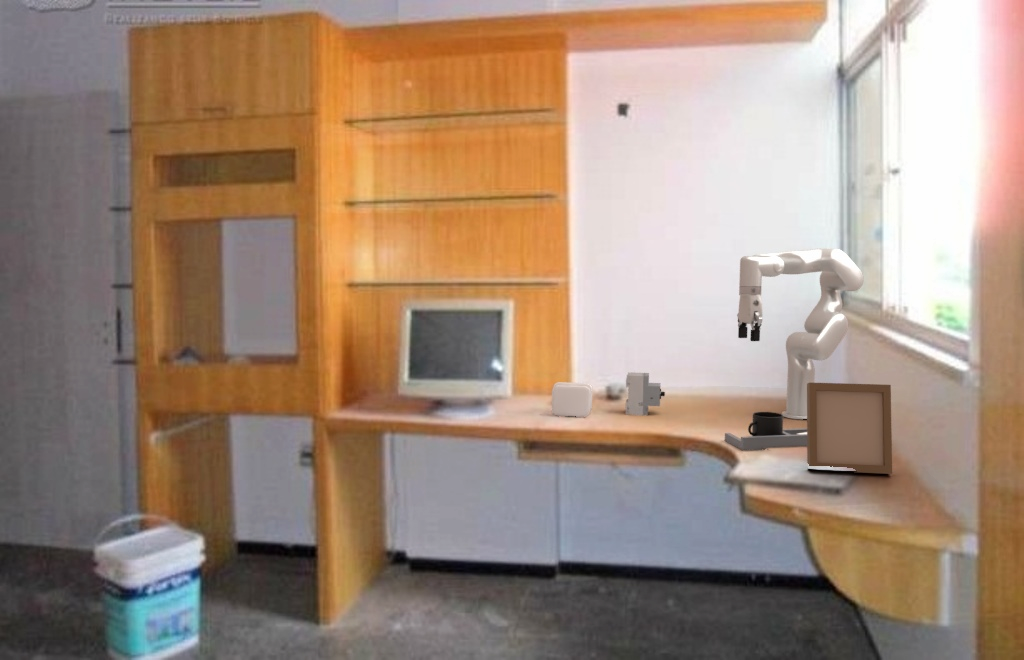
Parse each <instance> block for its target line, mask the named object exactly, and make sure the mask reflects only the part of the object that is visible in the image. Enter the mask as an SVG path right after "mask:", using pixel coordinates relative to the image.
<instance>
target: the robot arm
mask: <svg viewBox="0 0 1024 660" xmlns="http://www.w3.org/2000/svg"><path fill="white" fill-rule="evenodd" d="M739 261H740V262H739V282H738V283H739V287H738V288H739V290H738V291H739V292H738V293H739V294H738V295H739V301H738V313H736V316H737V323H738V324H737V326H738V334H737V338H738V339H747V338H748V325H750V326H751V329H750V342H760V341H761V337H760V336H761V329H762V327H761V326H762V323H763V300H762V283H763V282H762V281H763V280H762V277H765V278H766V277H768V278H772V277H773V278H775V277H778V276H779V275H802V274H810V273H812V274H813V273H818V272H821V273H820V275H819V286H820V292H821V293H820V294H821V295H820V299H819V301H818V302H817V303H816V305H815V306H814V308H813V309H812V310H811V312H810V313H809V315H808V316H807V318H806V319H805V321H804V324H803V325H804V327H803V328H804V330H805V331H795V332H792V333H791V334H789V335H788V336H787V338H786V341H785V351H786V356H787V378H786V379H787V380H786V381H787V382H786V406H785V407H786V409H785V410H784V411H781V414H782V415H783V418H784V417H785V418H788V419H792V420H803V419H807V384H808V383H815V378H816V377H815V375H816V373H815V372H816V371H815V369H816V368H815V364H814V362H813V361H821V362H822V361H826V360H827V359H829V358H830V357H831V356H832V354H833V353H834V352H835V350H836V349H837V348H838V346H839V345H840V344H841V342H842V340H843V339H844V337H845V336H846V334H847V333H848V327H849V320H848V318H847V317H846V315H845V314H843V313H841V311H842V309H843V300H842V296H841V292H842V291H843V292H857V291H858V290H859V289H860V288H862V286H863V284H864V275H863V273H862V271H861V269H860V268H859V267H858V265H856V263H855V262H854V261H853V260H852V259H851V258H850V256H849V255H847V254H846V252H844V251H843V250H841V249H839V248H811V249H802V250H793V251H792V250H791V251H784V252H783V251H782V252H775V253H772V252H771V253H762V254H755V255H751V256H749V255H747V256H742V257H740V259H739Z"/></svg>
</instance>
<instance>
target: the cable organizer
mask: <svg viewBox="0 0 1024 660" xmlns="http://www.w3.org/2000/svg"><path fill="white" fill-rule="evenodd" d="M592 409H593V386H592V385H591V384H590V383H588V382H565V381H562V382H561V381H558V382H555V383H554V384H553V386H552V389H551V413H552V414H553V415H555V416H558V417H559V416H567V417H575V416H576V417H575V418H581V417H584V418H585V417H587V416H589V415H590V413H591V410H592Z"/></svg>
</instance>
